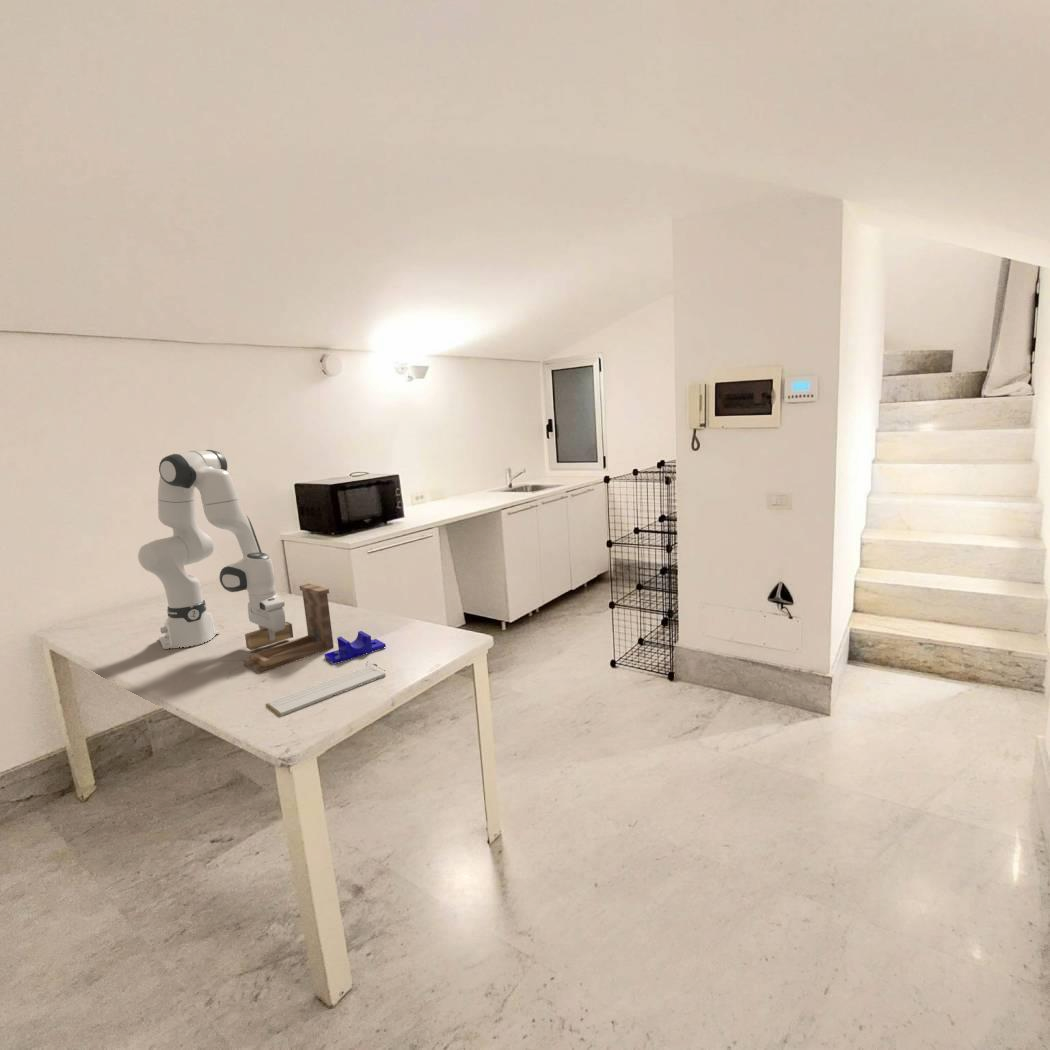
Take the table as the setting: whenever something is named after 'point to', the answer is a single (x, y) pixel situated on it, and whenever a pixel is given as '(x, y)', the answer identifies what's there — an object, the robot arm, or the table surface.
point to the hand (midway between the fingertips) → (268, 638)
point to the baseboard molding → (324, 690)
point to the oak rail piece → (261, 637)
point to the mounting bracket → (354, 648)
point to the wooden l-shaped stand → (304, 646)
